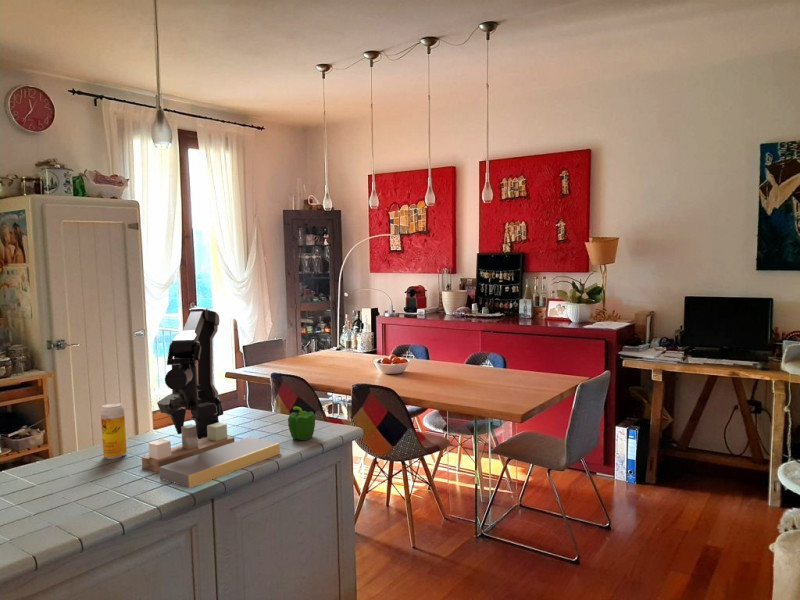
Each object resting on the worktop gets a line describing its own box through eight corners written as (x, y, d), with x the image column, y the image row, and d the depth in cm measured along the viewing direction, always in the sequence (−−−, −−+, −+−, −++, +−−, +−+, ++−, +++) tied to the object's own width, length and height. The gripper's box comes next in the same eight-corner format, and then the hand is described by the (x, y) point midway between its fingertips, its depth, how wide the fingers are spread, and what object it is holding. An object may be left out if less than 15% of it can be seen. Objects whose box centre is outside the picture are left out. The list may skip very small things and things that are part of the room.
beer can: (98, 458, 173) (95, 406, 171) (115, 451, 178) (112, 401, 177) (114, 460, 170) (111, 408, 169) (131, 453, 176) (128, 403, 175)
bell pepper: (321, 436, 188) (320, 404, 187) (305, 443, 181) (304, 411, 180) (300, 433, 192) (299, 402, 191) (283, 440, 185) (282, 408, 184)
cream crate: (149, 457, 163) (148, 442, 163) (162, 453, 167) (161, 438, 166) (158, 459, 161) (157, 445, 161) (171, 455, 164) (170, 441, 164)
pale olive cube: (207, 438, 179) (206, 425, 179) (218, 435, 182) (217, 422, 182) (216, 440, 177) (215, 427, 176) (227, 437, 180) (226, 424, 180)
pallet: (142, 467, 164) (140, 435, 163) (217, 443, 184) (216, 414, 184) (159, 473, 159) (157, 439, 159) (234, 447, 180) (233, 417, 179)
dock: (160, 478, 155) (159, 467, 155) (250, 446, 179) (249, 436, 179) (190, 488, 148) (189, 476, 147) (280, 453, 172) (279, 443, 172)
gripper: (141, 384, 169) (144, 438, 170) (182, 391, 158) (185, 449, 160) (176, 377, 178) (179, 429, 179) (217, 383, 167) (219, 438, 169)
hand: (189, 436), depth 171 cm, fingers open, 9 cm apart
